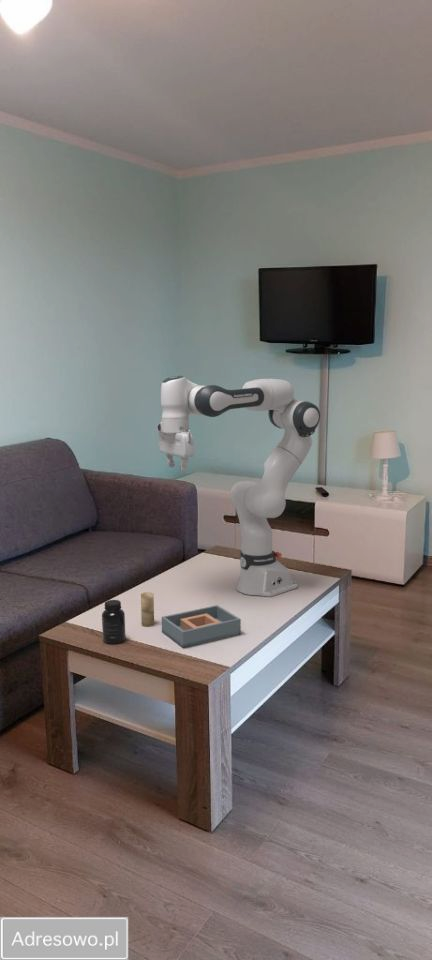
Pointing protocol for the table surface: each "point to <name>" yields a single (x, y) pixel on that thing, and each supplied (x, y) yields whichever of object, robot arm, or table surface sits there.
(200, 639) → the open-top box
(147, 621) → the beech peg
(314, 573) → the table surface
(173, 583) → the table surface
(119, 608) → the supplement bottle
